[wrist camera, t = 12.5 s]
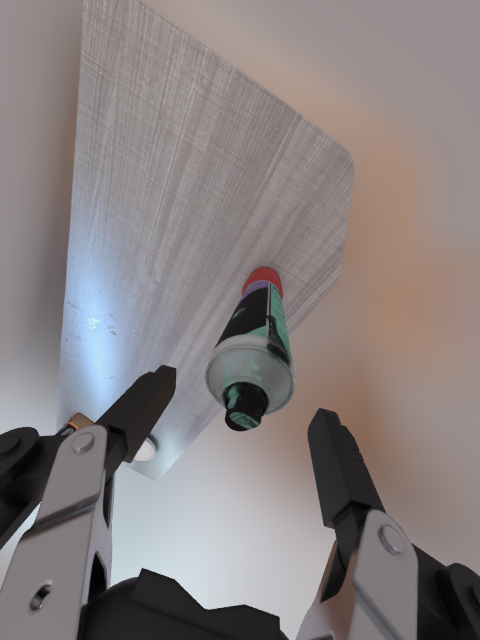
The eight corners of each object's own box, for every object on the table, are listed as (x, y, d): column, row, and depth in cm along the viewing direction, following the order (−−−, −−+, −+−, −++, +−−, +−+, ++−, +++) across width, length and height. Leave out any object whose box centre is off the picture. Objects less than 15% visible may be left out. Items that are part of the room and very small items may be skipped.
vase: (119, 440, 72) (104, 459, 66) (126, 419, 66) (111, 438, 59) (153, 457, 73) (142, 477, 67) (164, 438, 67) (153, 459, 60)
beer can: (260, 259, 35) (256, 267, 25) (286, 278, 36) (293, 294, 25) (242, 285, 38) (231, 303, 27) (266, 303, 39) (265, 327, 28)
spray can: (250, 275, 25) (196, 358, 7) (286, 286, 25) (327, 403, 7) (239, 309, 27) (179, 436, 9) (273, 320, 27) (276, 471, 9)
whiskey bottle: (78, 411, 69) (-61, 534, 40) (99, 426, 71) (-19, 554, 42) (69, 420, 73) (-65, 538, 44) (89, 434, 75) (-26, 556, 46)
